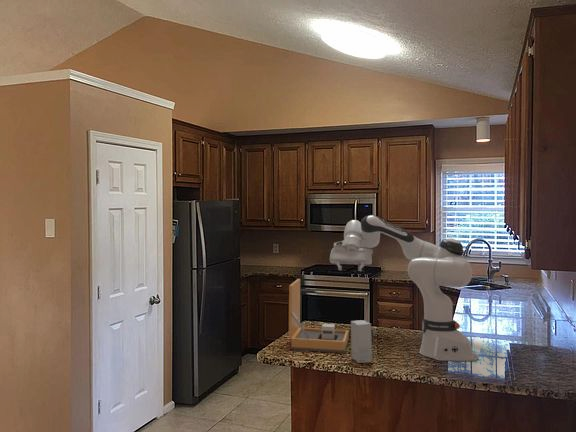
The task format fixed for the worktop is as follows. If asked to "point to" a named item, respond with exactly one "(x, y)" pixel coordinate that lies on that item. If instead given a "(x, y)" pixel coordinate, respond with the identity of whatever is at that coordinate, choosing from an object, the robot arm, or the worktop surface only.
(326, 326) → the plate
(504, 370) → the worktop surface
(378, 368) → the worktop surface
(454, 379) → the worktop surface
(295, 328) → the equipment case
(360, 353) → the skincare box
